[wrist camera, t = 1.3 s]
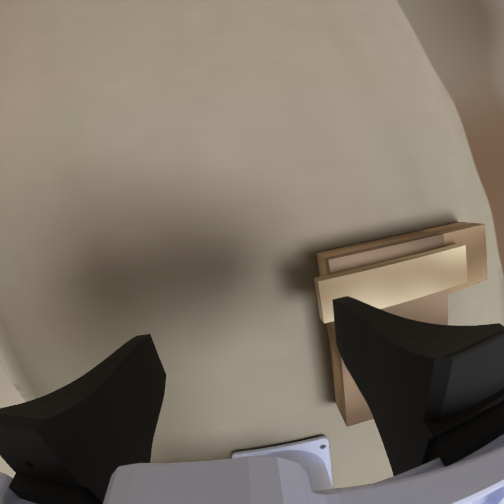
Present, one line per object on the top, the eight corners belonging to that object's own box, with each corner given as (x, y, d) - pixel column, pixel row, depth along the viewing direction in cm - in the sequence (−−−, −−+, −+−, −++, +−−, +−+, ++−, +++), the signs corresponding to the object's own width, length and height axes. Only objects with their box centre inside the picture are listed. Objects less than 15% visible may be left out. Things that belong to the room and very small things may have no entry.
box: (460, 359, 22) (481, 373, 19) (335, 402, 22) (346, 426, 19) (458, 222, 21) (484, 223, 17) (315, 252, 21) (328, 259, 17)
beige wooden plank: (458, 279, 18) (467, 282, 17) (319, 317, 18) (324, 323, 17) (456, 243, 17) (465, 245, 16) (313, 277, 17) (317, 281, 16)
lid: (438, 387, 20) (467, 414, 15) (343, 420, 20) (361, 457, 15) (436, 233, 18) (477, 238, 14) (324, 257, 18) (347, 271, 14)
